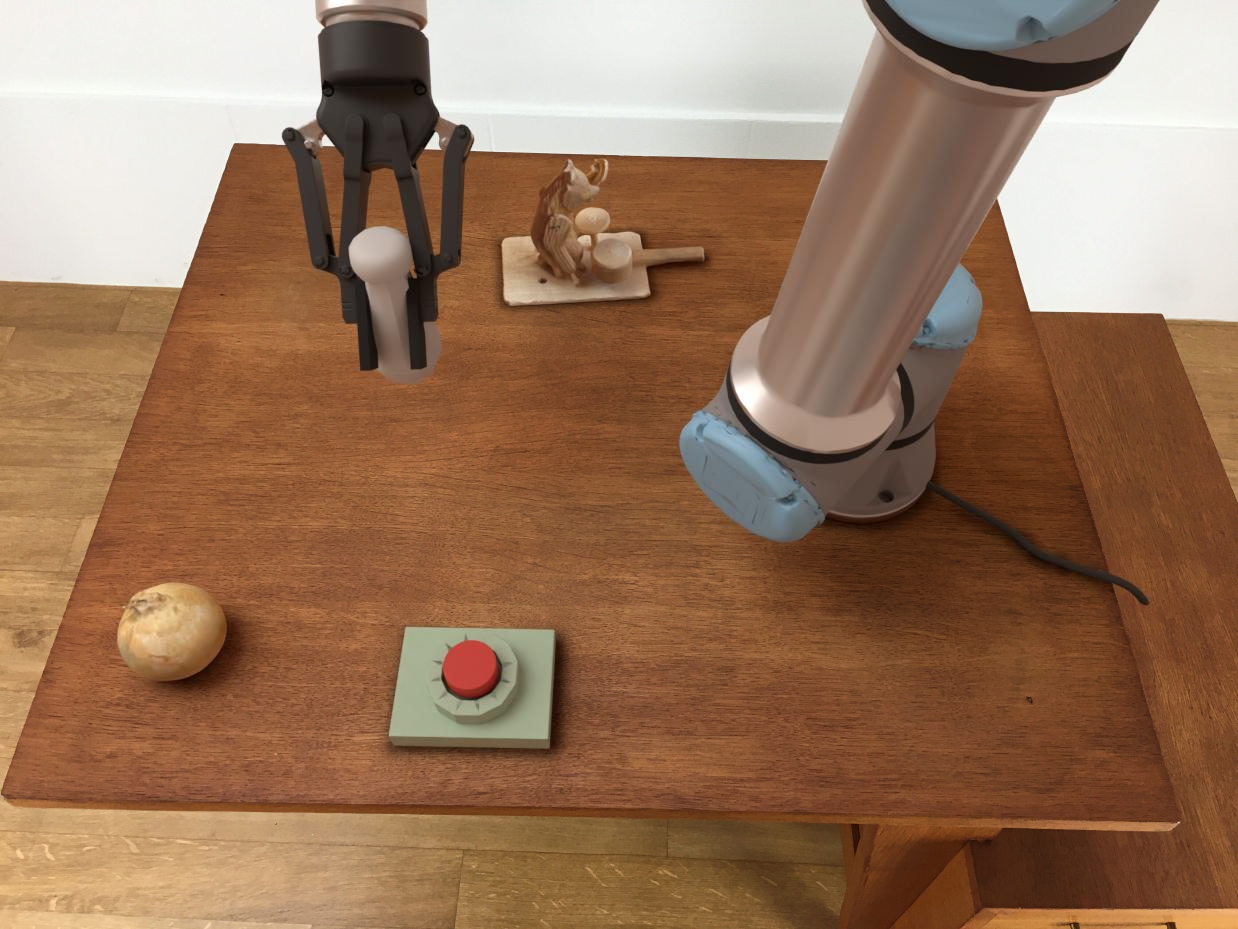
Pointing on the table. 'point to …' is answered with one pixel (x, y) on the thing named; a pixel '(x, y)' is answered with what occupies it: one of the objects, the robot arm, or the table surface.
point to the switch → (470, 669)
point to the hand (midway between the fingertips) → (394, 368)
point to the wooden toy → (579, 249)
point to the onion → (171, 631)
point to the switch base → (490, 720)
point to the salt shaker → (391, 301)
